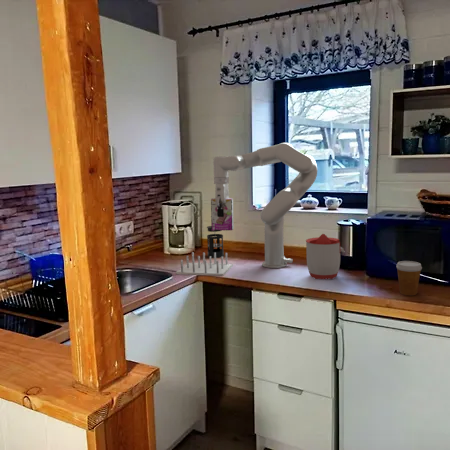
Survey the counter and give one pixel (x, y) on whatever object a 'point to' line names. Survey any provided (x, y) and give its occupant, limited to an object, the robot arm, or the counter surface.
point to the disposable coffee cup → (408, 276)
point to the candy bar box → (225, 221)
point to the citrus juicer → (323, 257)
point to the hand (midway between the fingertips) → (222, 215)
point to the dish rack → (205, 267)
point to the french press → (211, 244)
